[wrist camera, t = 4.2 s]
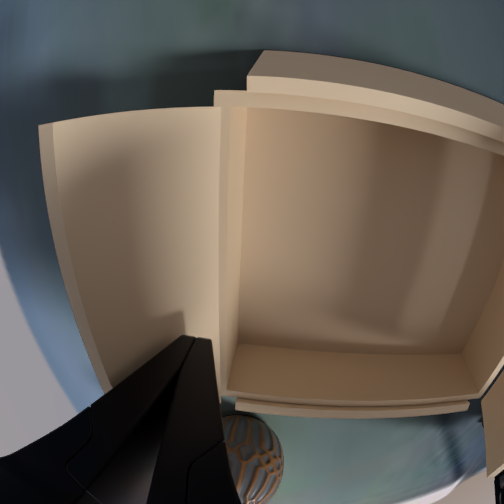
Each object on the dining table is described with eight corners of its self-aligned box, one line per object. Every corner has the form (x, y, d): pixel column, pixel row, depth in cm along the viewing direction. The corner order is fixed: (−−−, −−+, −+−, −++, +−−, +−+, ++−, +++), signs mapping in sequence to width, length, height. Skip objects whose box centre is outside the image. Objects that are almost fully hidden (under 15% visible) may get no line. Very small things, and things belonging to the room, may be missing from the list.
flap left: (221, 106, 8) (52, 122, 4) (221, 401, 13) (160, 483, 9) (205, 106, 8) (38, 125, 4) (211, 397, 13) (150, 477, 9)
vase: (184, 408, 22) (152, 504, 14) (266, 397, 20) (250, 514, 12) (225, 448, 24) (206, 531, 16) (298, 441, 22) (291, 534, 14)
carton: (534, 120, 9) (592, 136, 5) (448, 373, 17) (466, 423, 13) (240, 50, 11) (213, 24, 7) (230, 363, 18) (215, 422, 14)
